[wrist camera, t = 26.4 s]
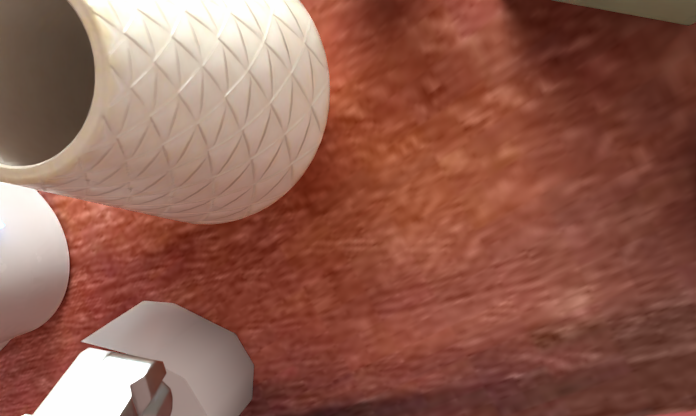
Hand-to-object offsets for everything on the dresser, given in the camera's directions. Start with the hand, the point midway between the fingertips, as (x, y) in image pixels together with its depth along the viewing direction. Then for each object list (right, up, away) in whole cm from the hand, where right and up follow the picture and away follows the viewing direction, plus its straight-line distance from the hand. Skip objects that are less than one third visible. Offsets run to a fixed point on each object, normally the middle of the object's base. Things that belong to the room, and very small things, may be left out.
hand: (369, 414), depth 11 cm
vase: (-9, +12, +34) cm, 38 cm away
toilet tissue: (-13, -9, +38) cm, 42 cm away
